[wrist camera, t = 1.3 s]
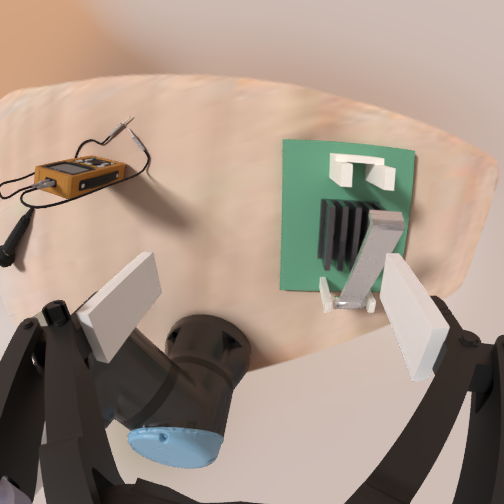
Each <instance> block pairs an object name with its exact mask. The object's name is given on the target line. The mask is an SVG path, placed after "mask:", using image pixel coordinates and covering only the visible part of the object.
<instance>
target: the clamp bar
mask: <svg viewBox="0 0 504 504" xmlns="http://www.w3.org/2000/svg"><path fill="white" fill-rule="evenodd" d="M368 216H369V220H370V225H369V228H368V231H367V233H366V236H365V238H364V241H363V243H362V246H361V248H360V251H359V253H358V255H357V258H356V260H355V263H354V265H353V267H352V270H351V272H350V274H349V277H348V279H347V281H346V283H345V286H344V288H343V290H342V292H341V294H340V296H334V298H333V309H364V308H365V297H366V295H367V294H368V292H369V290H370V289H371V287H372V285H373V284H374V282H375V281H376V279H377V277H378V276H379V274H380V272H381V270H382V269H383V267H384V265H385V259H386V253H392V251H393V249H394V248H395V246H396V244H397V242H398V240H399V238H400V237H401V235H402V233H403V231H404V229H405V227H406V226H405V223H404V219H403V216H402V212H393V211H380V210H370V211H369V214H368Z"/></svg>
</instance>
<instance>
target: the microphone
mask: <svg viewBox="0 0 504 504" xmlns="http://www.w3.org/2000/svg"><path fill="white" fill-rule="evenodd" d="M33 209H34V208H30V209H29V211H28V212H27V213H26V214H25V215H23V216H22V217H21V219H20V220H19V222H18V223H17V225H16V226H15V228H14V229H13V231H12V232H11V234H10V235H9V237H8V239H7V240H6V242H5V244H4V245H2V246H0V266H2V267H8V266H11V265H12V263H13V262H14V260H15V258H14V254H13V253H14V252H15V249H16V247H17V245H18V243H19V241H20V239H21V237H22V235H23V233H24V231H25V229H26V227H27V225H28V223H29V220H30V216H31V214H32V211H33Z"/></svg>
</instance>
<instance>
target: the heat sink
mask: <svg viewBox="0 0 504 504" xmlns="http://www.w3.org/2000/svg"><path fill="white" fill-rule="evenodd" d="M370 210H380V211H387V210H386V209H385V208H384V207H382V206H381V203H379V202H373V201H358V200H342V199H322V198H321V204H320V222H319V237H318V251H317V257H318V259H321V260H322V264H323V267H324V271H330V266H331V259H333V261H334V264H335V267H336V270H337V271H343V263H344V261H345V263H346V265H347V267H348V269H349V271H351V270H352V267H353V265H354V263H355V260H356V258H357V255H358V253H359V251H360V248H361V246H362V243H363V241H364V238H365V236H366V233H367V231H368V228H369V225H370V220H369V216H368V214H369V211H370Z"/></svg>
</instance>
